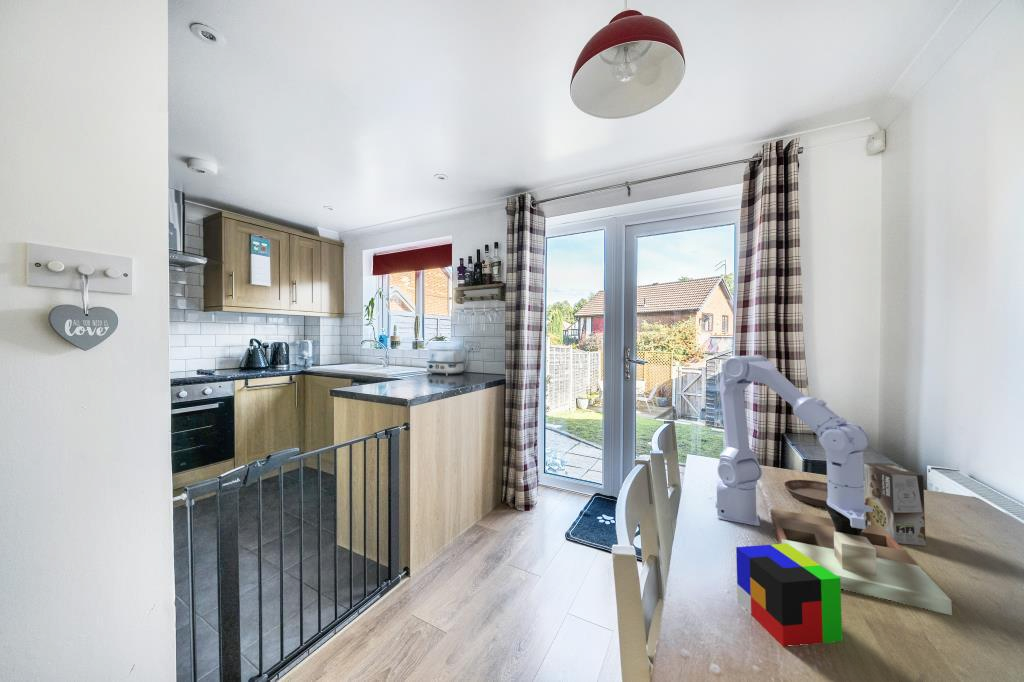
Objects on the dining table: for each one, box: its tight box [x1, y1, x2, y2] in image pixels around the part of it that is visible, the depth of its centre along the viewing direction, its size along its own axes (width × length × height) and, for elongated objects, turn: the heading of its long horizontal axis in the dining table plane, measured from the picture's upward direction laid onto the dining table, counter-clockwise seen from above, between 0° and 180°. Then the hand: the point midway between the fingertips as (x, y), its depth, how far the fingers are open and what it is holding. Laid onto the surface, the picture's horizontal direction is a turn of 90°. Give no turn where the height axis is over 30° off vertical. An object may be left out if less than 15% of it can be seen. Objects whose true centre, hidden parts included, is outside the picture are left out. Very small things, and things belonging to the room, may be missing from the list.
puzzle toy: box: [735, 543, 843, 648], centre depth 61 cm, size 10×10×10 cm
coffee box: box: [863, 462, 927, 546], centre depth 88 cm, size 9×6×16 cm
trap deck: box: [769, 508, 953, 616], centre depth 79 cm, size 22×28×2 cm
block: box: [834, 532, 877, 576], centre depth 72 cm, size 5×5×5 cm
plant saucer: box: [783, 479, 831, 509], centre depth 108 cm, size 18×18×3 cm
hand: (847, 547), depth 75 cm, fingers closed
